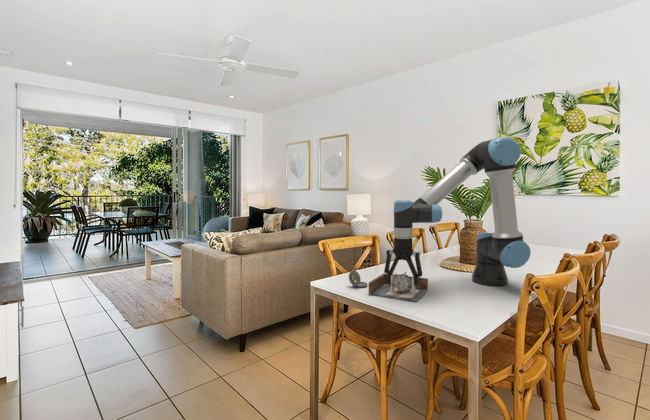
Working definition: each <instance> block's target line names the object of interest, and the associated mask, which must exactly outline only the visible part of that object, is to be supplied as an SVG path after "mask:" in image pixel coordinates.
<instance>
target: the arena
mask: <svg viewBox="0 0 650 420" xmlns="http://www.w3.org/2000/svg"><path fill="white" fill-rule="evenodd" d="M395 277H396V274H395ZM408 277H409V278H410V279H411V280H412V277H413V276H411V275H408ZM409 291H410V292H409ZM409 291H404V292H401V293H400V291H399V290H398V289H397V288H396V287H395V289H394V290H393V291H391V282H389V275H388V274H387V273H385V272H384V273H381V274H380V275H379V276H377V277H375V278H374V279H372V280H370V281H369V282H368V295H369V296H374V297H381V298H387V299H394V300H400V301H405V302H411V303H412V302H413V303H418V302H419V301H420V300H421V298H422V297H424V296H425V294H426V293H427V292H428V291H429V278H427V277H418V284H417V286H415V293H414V294H412V284H411V287H410V289H409Z"/></svg>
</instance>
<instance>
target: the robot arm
mask: <svg viewBox="0 0 650 420" xmlns="http://www.w3.org/2000/svg"><path fill="white" fill-rule="evenodd" d="M520 157H521V148H520V145H519V144H518V142H517V141H516V140H515V139H513V138H511V137H508V136H503V137H501V136H500V137H496V138H492V139H489V140H485V141H481V142H479V143H478V144H477V145H475V146H473V147H472V148H471V149H470V150H469V151H468V152H466V154H465V155H463V156H462V157H461V158H460V159H459V163H458V164H456V165H455V166H454V167H453V168H451V170H450V171H449V172H446V174H445V175H444V176H442V177H441V178H440V179H439V180H438V181H437V182H436V183H435V184H434V185H432V186H431V187H430V188H429V189H428V190H426V191H425V192H424V193H423V194H422V195H420V197H418V199H416V200H415V201H414V202H413V200H412V199H411V200H410V199H409V200H408V199H401V200H395V201H394V205H393V236H394V238H393V248H392V249H387V250H386V260H385V265H384V271H383V272H384V273H387V274H388V275H389V282H391V284H393V282H394V280H395V275H396V274H395V273H394V272H395V270H396V267H397V265H398V262H399V261H401V260H402V261H406V263H407V264H408V267H409V269H410V271H411V272H410V273H411V274H412V276H411V277H412V294H414V293H415V286H417V284H418V277H420V278H422V276H423V269H422V263H421V259H420V258H421V257H420V256H421V252H420V251H414V249H413V227H414V226H413V224H416V223H417V224H420V223H421V224H430V223H431V224H434V223H435V224H436V223H439V222H441V220H442V218H443V208H442V206H440V204H439V203H441V202H442V201H443V200H444V199H445V198H446V197H447V196H449V195H450V194H451V193H452V192H454V191H455V190H456V189H457V188H458V187H460V186H461V184H462V183H464V182H465V181H466V180H467V179H469V178H470V177H471V176H474V175H475V176H476V175H477V174H478V173H479V172H480V171H482V170H484V174H485V175H487V176H488V179H489V186H490V187H489V188H490V195H491V206H492V214H493V215H492V216H493V223H494V232H479V233H477V235H476V240H475V241H476V249H475V250H476V252H475V253H476V254H475V255H476V256H475V257H476V258H475V259H476V260H475V261H476V262H475V266H474V270H473V272H472V274H471V281H472V282H474V283H477V284H480V285H485V286H492V287H493V286H494V287H495V286H497V287H500V286H507V285H508V284H509V277H508V275H507V271H506V269H505V267H506V268H512V269H517V268H521V267H523V266H525V264H526V263H527V262H528V261H529V259H530V258H531V253H532V252H531V247H530V246H529V245H528V244H527V243H526V242H525V241H524V235H523V233H522V232H521V231H519V225H518V216H517V210H516V209H517V207H516V199H515V198H516V196H515V190H514V189H515V188H514V178H513V173H514V172H515V170H517V169H516V168H517V166H516V163H517V162H518V161H519V159H520ZM393 254H394V255H395V257H394V260H393V262H392V257H393V256H392V255H393ZM412 256H413V257H414V261H415V265H416V266H415V265H414V263H413V259H412ZM391 262H392V264H391ZM390 266H391V267H390ZM415 267H416V268H415ZM394 289H395V286H394V285H391V291H393V290H394Z"/></svg>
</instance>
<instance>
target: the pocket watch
mask: <svg viewBox="0 0 650 420" xmlns="http://www.w3.org/2000/svg"><path fill="white" fill-rule="evenodd" d="M351 267H352V268H353V270H352V271H350V272H349V274H348V281H349V282H350V284H351V285H352V286H354V287H356V288H366V287H367V286H368V283H367V282H365V281H362V280H361V279H362V278H361V275H360V273H359V272H358V271H357V270H356V269H357V266H356V265H352V266H351Z"/></svg>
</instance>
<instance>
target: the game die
mask: <svg viewBox="0 0 650 420" xmlns="http://www.w3.org/2000/svg"><path fill="white" fill-rule="evenodd" d="M406 273H407V272H406V271H405V272H404V273H400V274H398V273H396V272H395V273H394V274H395V275H396V277H395V280H394V282H393V284H391V285H394V286H395V287H396V288H397V289H398V290H399V291H400V293H401V292H404V291H409V289H410V287H411V284H412V280H411V279H410V278H409V277H408V276H409V275H408V274H406ZM409 292H410V291H409Z"/></svg>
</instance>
